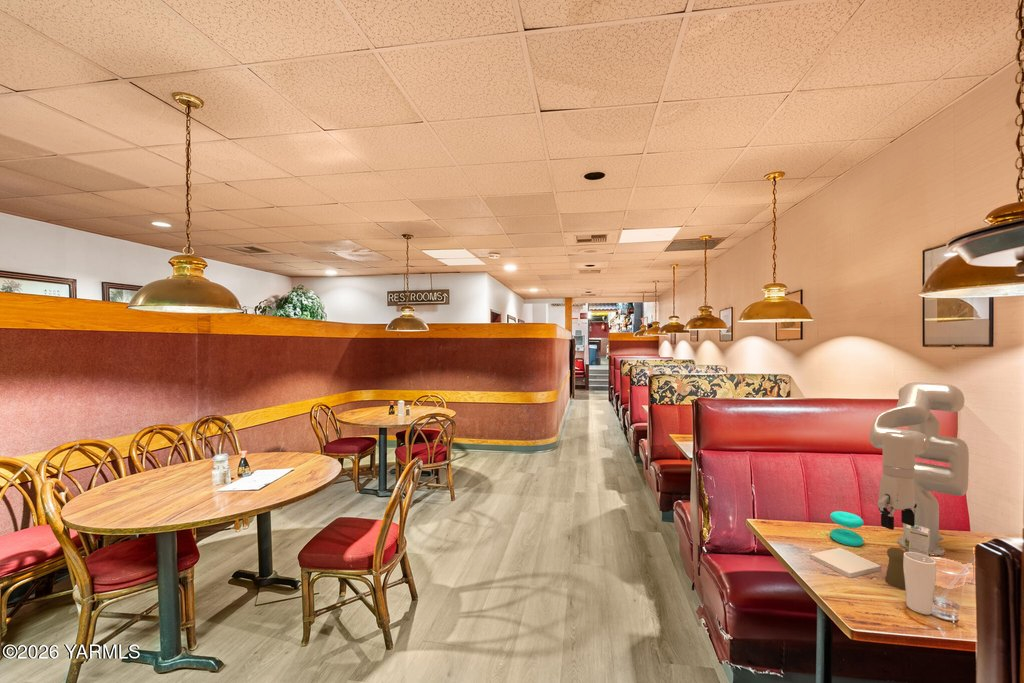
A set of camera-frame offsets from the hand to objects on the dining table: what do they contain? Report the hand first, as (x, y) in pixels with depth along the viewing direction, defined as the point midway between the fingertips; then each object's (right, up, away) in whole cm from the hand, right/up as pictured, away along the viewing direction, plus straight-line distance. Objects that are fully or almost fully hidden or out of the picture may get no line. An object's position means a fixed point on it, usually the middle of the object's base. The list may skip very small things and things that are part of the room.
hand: (897, 526), depth 132 cm
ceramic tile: (-7, -18, +12) cm, 23 cm away
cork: (0, -19, 0) cm, 19 cm away
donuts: (+7, -19, +29) cm, 35 cm away
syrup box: (+14, -19, +8) cm, 24 cm away
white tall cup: (-5, -19, -12) cm, 23 cm away
